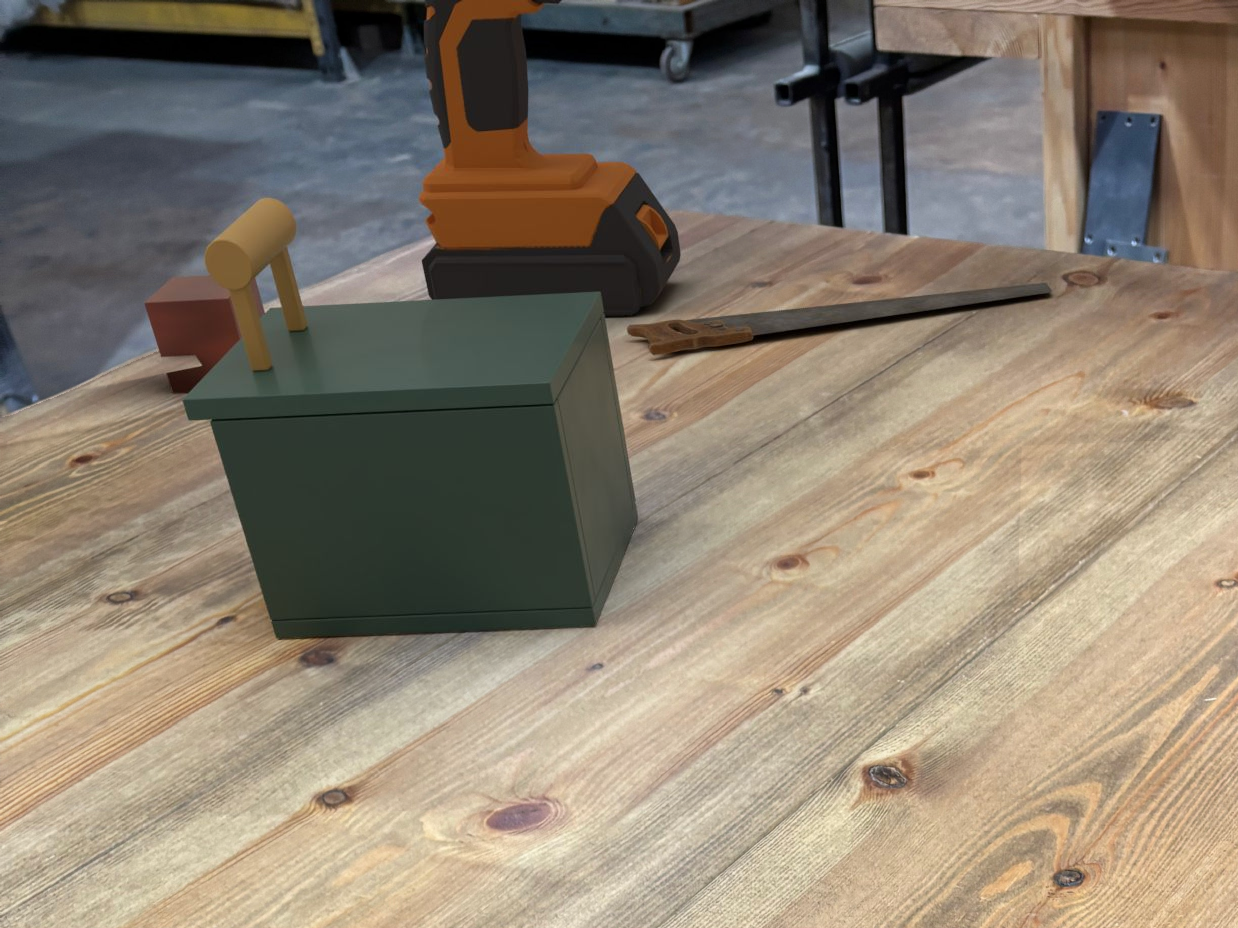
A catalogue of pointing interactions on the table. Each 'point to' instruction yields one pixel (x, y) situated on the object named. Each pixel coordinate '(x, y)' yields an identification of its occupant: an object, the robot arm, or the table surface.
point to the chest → (438, 511)
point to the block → (195, 324)
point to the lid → (378, 342)
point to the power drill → (525, 181)
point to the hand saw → (806, 318)
